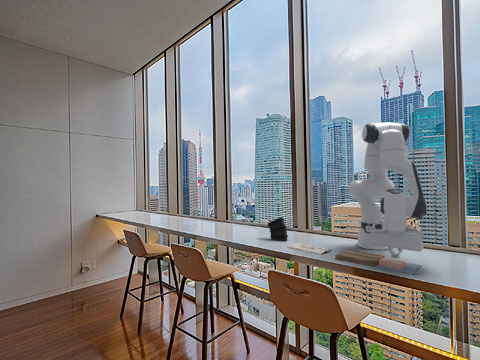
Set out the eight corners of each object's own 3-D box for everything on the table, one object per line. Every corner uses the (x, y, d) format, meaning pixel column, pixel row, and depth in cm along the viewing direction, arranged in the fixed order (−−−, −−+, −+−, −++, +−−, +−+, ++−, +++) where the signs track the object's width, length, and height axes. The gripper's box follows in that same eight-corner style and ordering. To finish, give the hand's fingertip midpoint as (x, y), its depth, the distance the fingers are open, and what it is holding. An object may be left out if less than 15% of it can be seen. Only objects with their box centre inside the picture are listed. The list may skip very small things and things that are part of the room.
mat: (386, 259, 128) (386, 259, 128) (421, 265, 118) (421, 265, 118) (375, 267, 116) (375, 266, 116) (413, 274, 107) (413, 273, 107)
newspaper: (333, 252, 145) (332, 247, 145) (320, 258, 137) (320, 253, 137) (298, 244, 162) (298, 240, 162) (285, 250, 154) (285, 246, 154)
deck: (346, 253, 140) (346, 249, 140) (384, 260, 128) (384, 255, 128) (335, 258, 130) (335, 254, 130) (375, 266, 117) (375, 261, 117)
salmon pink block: (378, 264, 119) (378, 260, 119) (383, 262, 123) (383, 257, 123) (401, 269, 112) (401, 264, 112) (405, 266, 117) (405, 261, 117)
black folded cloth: (289, 239, 168) (280, 217, 172) (273, 246, 175) (264, 224, 179) (292, 238, 171) (283, 216, 175) (276, 245, 178) (267, 223, 182)
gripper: (425, 228, 113) (425, 261, 112) (373, 223, 127) (373, 252, 127) (421, 230, 108) (422, 264, 108) (368, 224, 122) (368, 255, 122)
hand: (395, 258), depth 117 cm, fingers closed
